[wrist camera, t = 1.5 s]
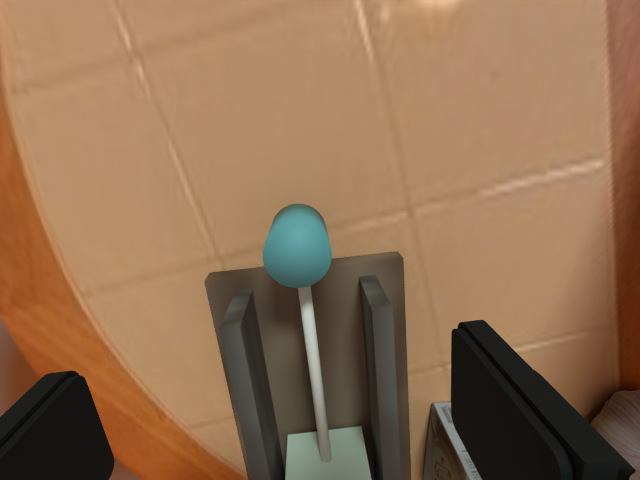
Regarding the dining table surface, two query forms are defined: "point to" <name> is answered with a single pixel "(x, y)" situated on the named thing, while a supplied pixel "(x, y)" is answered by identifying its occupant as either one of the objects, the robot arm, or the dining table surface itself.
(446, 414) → the coffee box
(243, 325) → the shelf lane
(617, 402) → the garlic bulb
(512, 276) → the dining table surface
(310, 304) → the cube with teal knob
